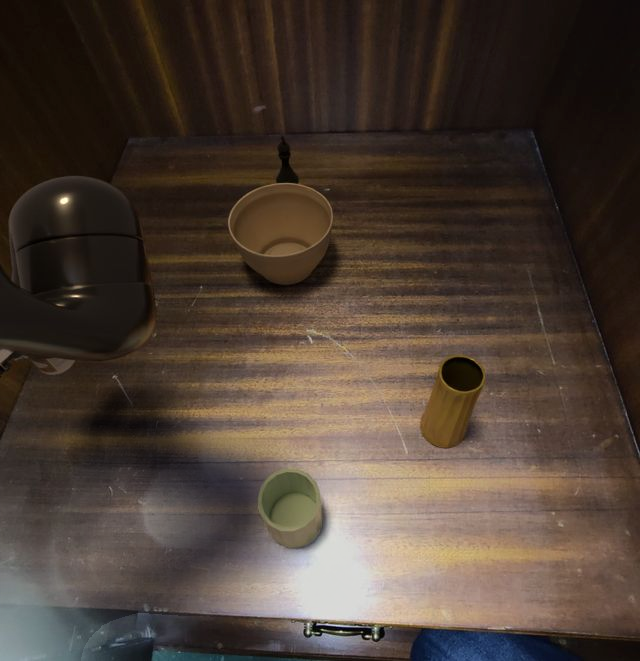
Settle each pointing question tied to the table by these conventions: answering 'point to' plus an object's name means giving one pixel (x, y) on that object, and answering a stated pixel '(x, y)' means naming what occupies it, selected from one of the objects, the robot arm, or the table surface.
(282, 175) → the chess piece
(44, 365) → the pill bottle
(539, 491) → the table surface
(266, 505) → the cup
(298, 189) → the planter bowl
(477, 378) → the vase
